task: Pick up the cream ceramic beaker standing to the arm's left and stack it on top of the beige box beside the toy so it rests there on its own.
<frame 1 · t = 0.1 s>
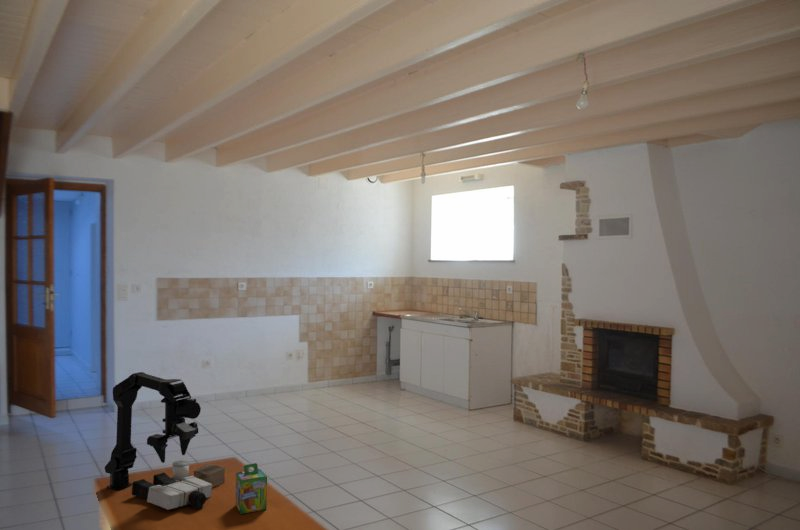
hand: (173, 458, 209), 15 cm above the table, tool pointing down, fingers open, 9 cm apart
toy: (174, 501, 209), on the table
chalk box: (251, 508, 202), on the table
beaker: (180, 477, 230), on the table
beige box: (209, 484, 224), on the table
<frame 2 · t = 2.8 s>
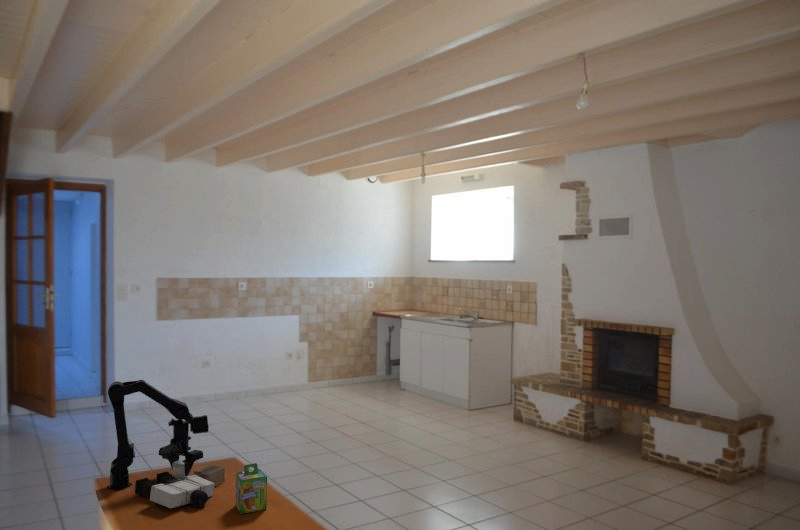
hand: (180, 474, 230), 1 cm above the table, tool pointing down, fingers closed on beaker, 6 cm apart
toy: (176, 499, 210), on the table
beaker: (180, 477, 230), on the table, touching gripper
everything else where it was.
when the fingers open (8 cm above the table, at t = 6.7 s): beaker stays where it is, resting on beige box.
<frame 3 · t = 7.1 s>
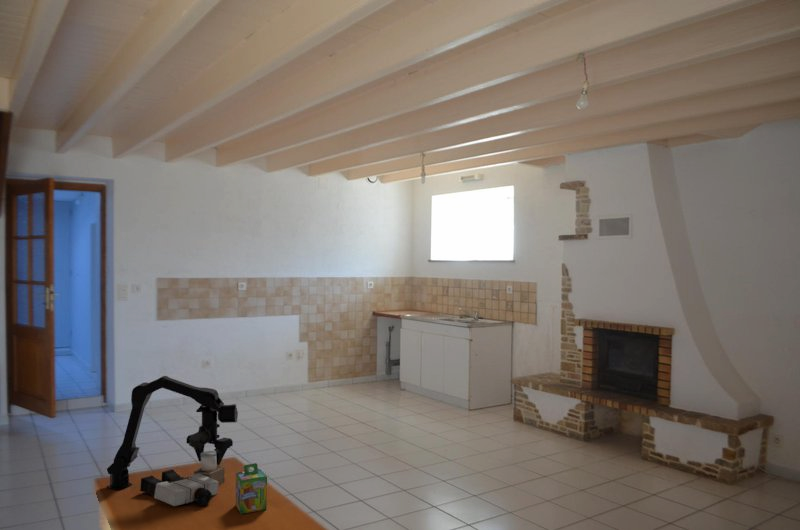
hand: (209, 463, 224), 8 cm above the table, tool pointing down, fingers open, 9 cm apart
toy: (181, 497, 212), on the table
beaker: (209, 468, 224), point 6 cm above the table, touching beige box
beige box: (209, 484, 224), on the table, touching beaker
everything else where it was.
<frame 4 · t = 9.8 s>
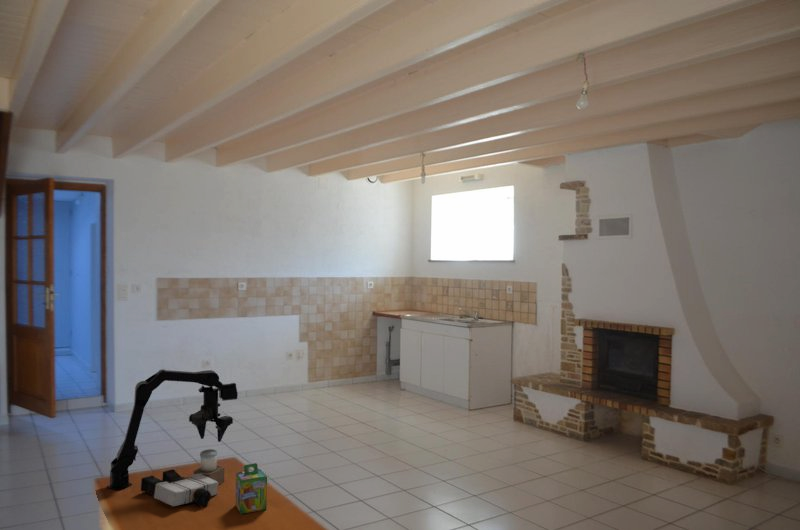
hand: (210, 440, 237), 13 cm above the table, tool pointing down, fingers open, 9 cm apart
beaker: (208, 467, 223), point 6 cm above the table, tilted 9°, touching beige box
everything else where it was.
at the end: beaker 0.1 cm off-centre on the beige box, point 6.5 cm above the beige box's base; beaker tilted 11°; the gripper is holding nothing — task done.
